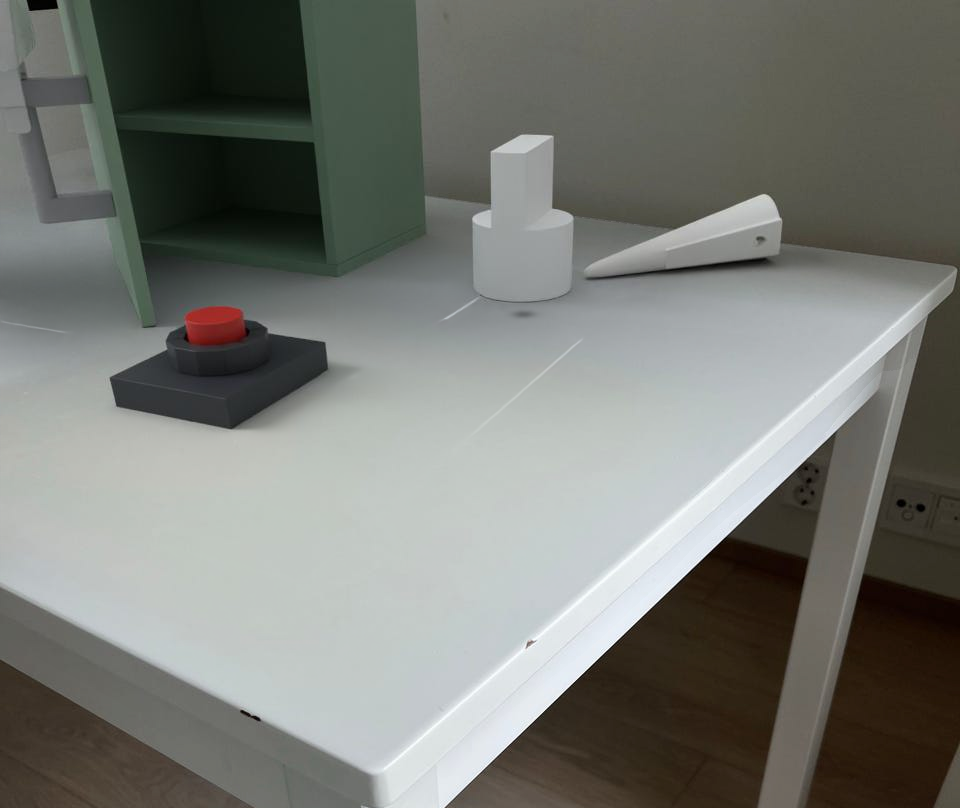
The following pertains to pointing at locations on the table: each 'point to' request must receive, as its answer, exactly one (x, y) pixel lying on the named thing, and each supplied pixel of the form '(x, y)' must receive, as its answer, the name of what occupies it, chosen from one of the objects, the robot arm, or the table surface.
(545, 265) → the cylinder with rectangular tab
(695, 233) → the white tapered wedge
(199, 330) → the button
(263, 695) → the table surface
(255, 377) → the button box
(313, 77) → the cupboard
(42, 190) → the door
